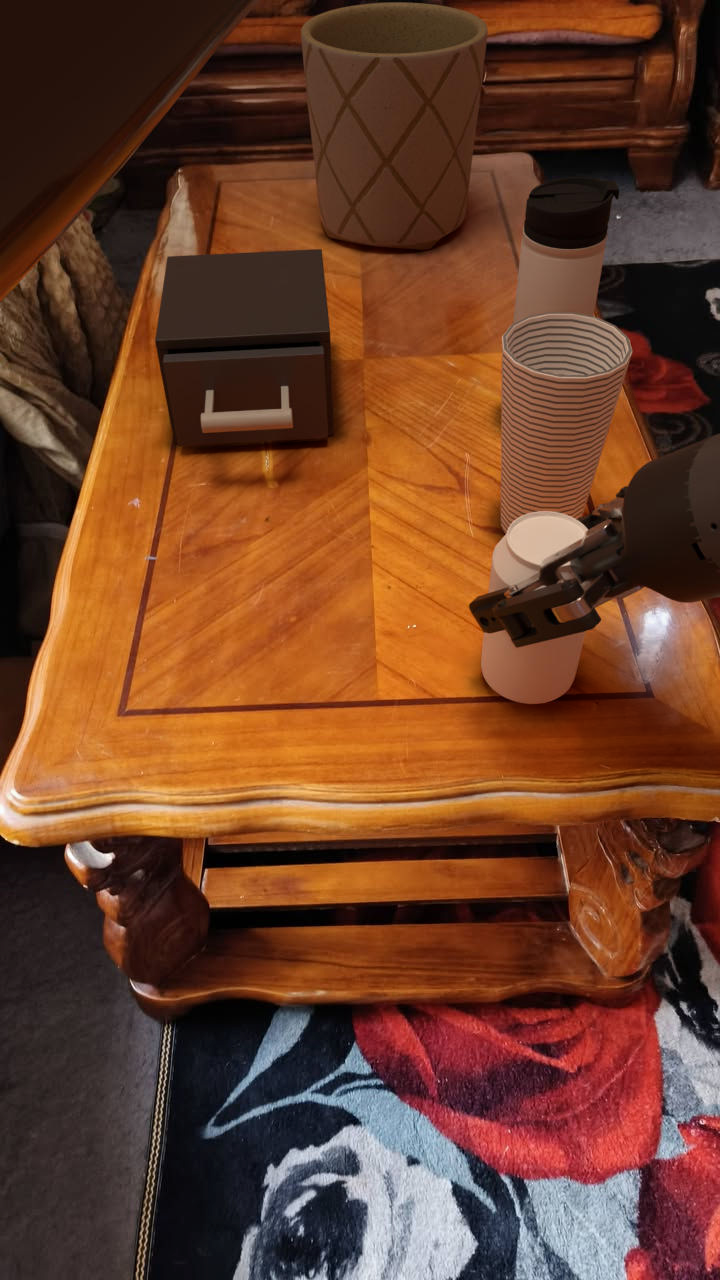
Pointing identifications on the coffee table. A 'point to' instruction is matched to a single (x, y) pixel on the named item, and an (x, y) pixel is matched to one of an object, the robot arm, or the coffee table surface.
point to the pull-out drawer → (247, 393)
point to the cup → (556, 409)
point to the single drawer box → (244, 306)
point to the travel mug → (563, 246)
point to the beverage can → (515, 559)
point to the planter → (393, 119)
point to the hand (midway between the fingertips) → (518, 580)
